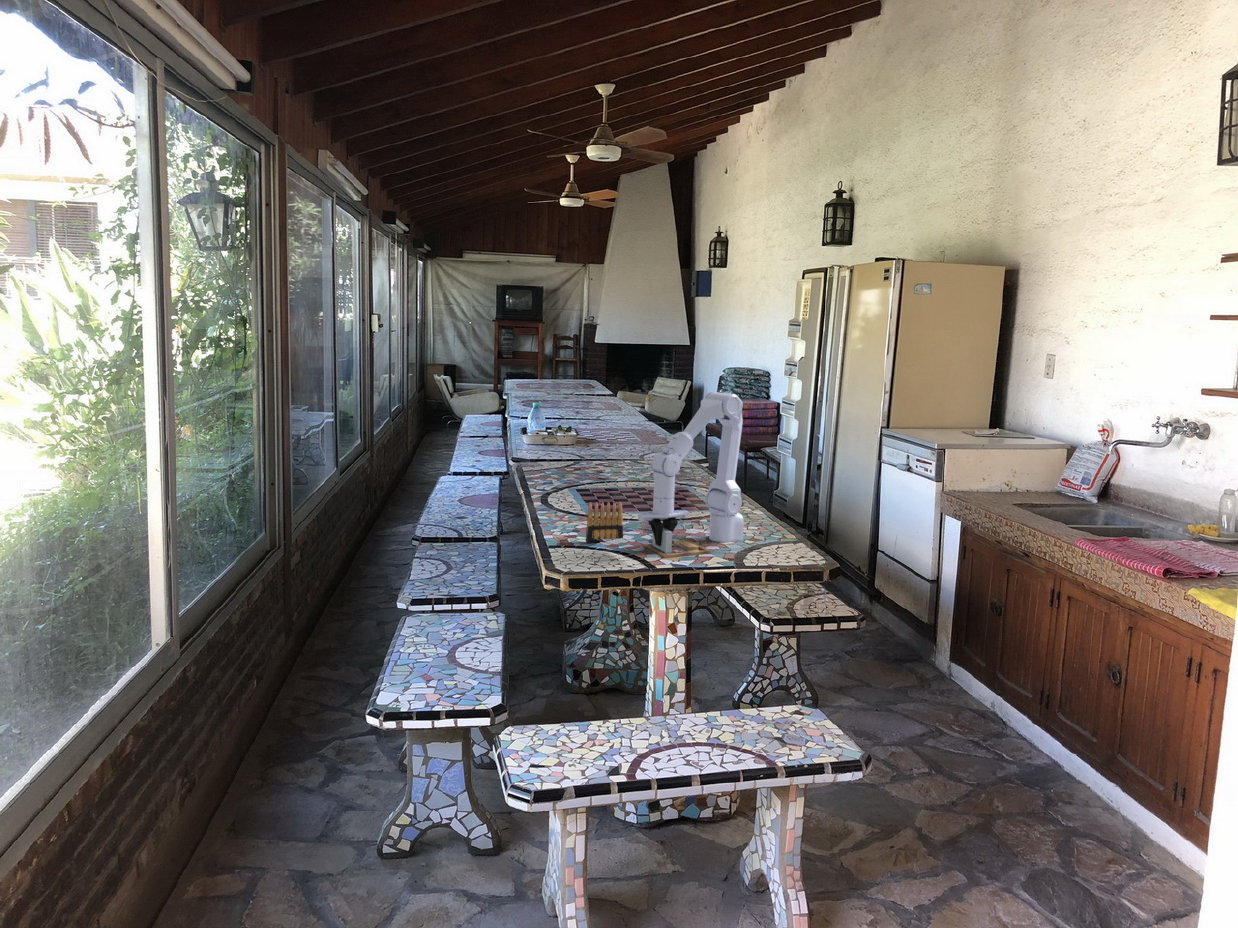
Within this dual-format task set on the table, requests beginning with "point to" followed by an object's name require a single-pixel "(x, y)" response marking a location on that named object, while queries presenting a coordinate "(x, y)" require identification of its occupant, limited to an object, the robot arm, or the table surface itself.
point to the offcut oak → (686, 545)
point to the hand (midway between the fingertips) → (662, 544)
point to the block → (665, 541)
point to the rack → (676, 554)
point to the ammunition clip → (604, 523)
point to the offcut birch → (691, 550)
